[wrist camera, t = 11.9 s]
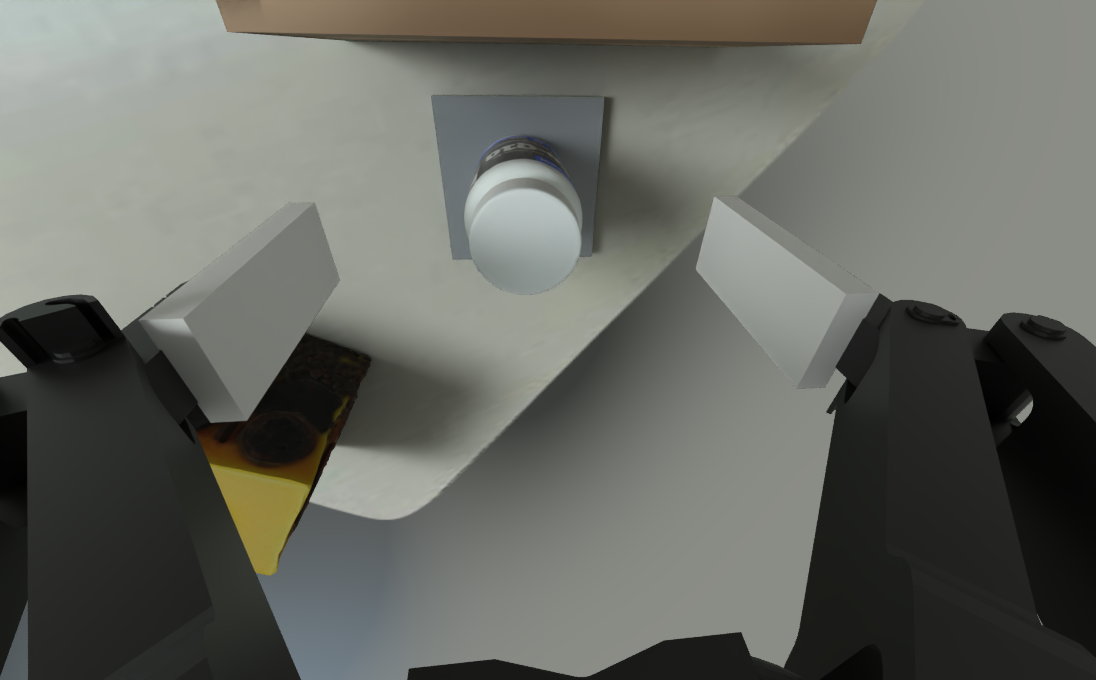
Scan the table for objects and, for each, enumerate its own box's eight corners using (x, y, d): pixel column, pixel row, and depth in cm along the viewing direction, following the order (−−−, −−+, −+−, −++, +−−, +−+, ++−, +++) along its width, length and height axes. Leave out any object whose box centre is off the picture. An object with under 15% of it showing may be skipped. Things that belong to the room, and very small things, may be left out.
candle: (374, 354, 27) (319, 483, 19) (337, 446, 32) (280, 580, 24) (198, 294, 24) (38, 420, 16) (185, 407, 28) (57, 548, 20)
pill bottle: (573, 140, 20) (608, 186, 13) (557, 232, 23) (579, 310, 16) (476, 125, 19) (459, 165, 12) (471, 222, 22) (455, 299, 15)
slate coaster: (433, 94, 19) (431, 96, 18) (602, 96, 20) (604, 97, 19) (453, 255, 24) (452, 259, 23) (589, 252, 24) (591, 256, 24)
